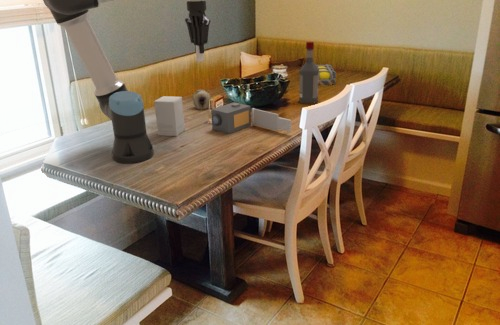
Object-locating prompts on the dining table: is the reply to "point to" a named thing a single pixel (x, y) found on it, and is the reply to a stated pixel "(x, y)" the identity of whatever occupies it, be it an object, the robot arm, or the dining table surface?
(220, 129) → the camera case
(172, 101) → the supplement box
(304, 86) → the liquor
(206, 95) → the garlic bulb
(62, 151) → the dining table surface
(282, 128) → the side door
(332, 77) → the cage light
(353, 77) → the dining table surface
